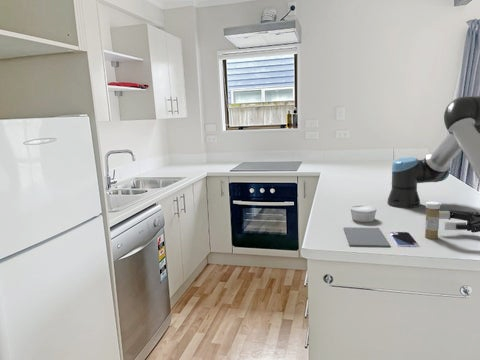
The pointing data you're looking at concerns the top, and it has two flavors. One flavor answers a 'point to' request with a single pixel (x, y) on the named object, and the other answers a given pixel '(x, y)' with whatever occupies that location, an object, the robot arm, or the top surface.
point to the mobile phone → (403, 239)
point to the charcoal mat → (366, 237)
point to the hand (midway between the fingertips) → (437, 220)
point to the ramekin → (363, 213)
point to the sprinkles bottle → (432, 220)
